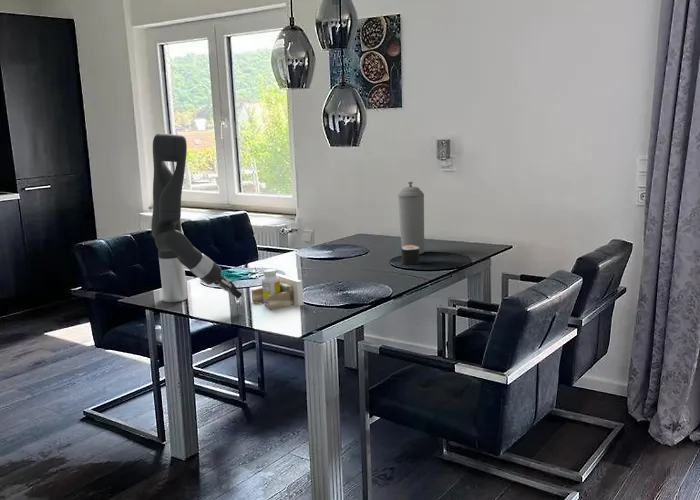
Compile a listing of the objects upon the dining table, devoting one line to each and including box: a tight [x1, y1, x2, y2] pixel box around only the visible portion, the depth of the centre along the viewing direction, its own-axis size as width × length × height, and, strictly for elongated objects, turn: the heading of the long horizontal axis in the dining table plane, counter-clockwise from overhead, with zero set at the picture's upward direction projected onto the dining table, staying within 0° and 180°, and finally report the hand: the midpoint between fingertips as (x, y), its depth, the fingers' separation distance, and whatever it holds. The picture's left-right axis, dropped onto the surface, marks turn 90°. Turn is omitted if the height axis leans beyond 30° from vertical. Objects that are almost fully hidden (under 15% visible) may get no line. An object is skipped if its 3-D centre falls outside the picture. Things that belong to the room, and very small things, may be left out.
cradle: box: [250, 282, 295, 311], centre depth 252 cm, size 14×10×7 cm
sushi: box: [401, 245, 420, 266], centre depth 309 cm, size 8×8×8 cm
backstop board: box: [276, 273, 304, 306], centre depth 255 cm, size 20×2×9 cm, turn 35°
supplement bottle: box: [261, 268, 281, 307], centre depth 251 cm, size 7×7×13 cm
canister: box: [397, 181, 425, 255], centre depth 328 cm, size 13×13×35 cm
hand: (239, 296), depth 244 cm, fingers closed
